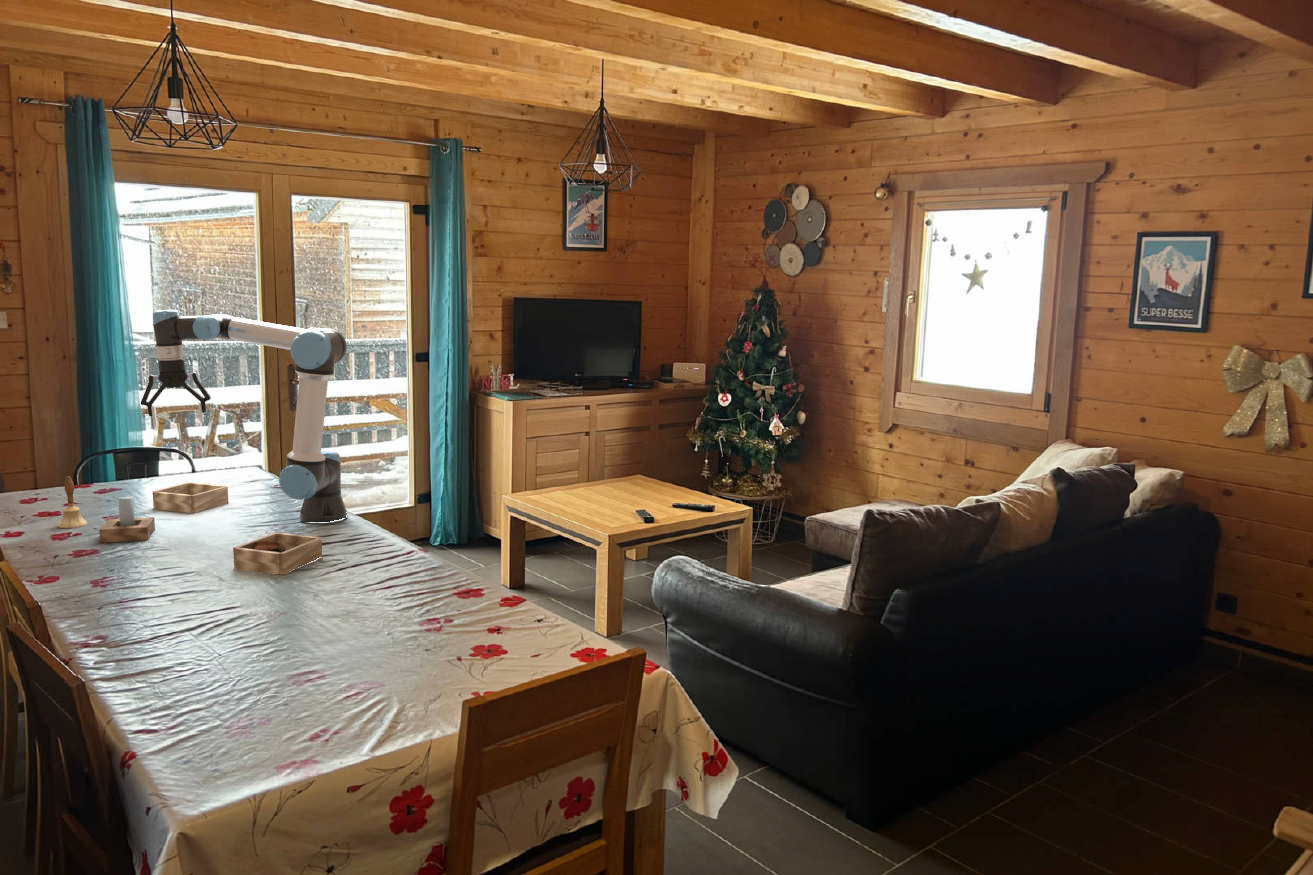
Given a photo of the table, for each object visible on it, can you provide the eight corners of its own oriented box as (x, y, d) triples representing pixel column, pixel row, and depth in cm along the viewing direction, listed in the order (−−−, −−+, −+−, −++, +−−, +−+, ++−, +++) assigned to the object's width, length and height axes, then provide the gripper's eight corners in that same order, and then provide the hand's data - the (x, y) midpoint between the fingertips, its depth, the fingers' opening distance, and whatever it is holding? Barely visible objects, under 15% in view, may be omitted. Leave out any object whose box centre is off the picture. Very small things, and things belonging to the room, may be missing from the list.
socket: (155, 529, 308) (154, 517, 307) (148, 539, 295) (147, 527, 295) (109, 531, 303) (108, 519, 303) (100, 542, 291) (99, 529, 291)
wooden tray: (229, 502, 345) (228, 486, 344) (193, 513, 329) (193, 496, 328) (189, 498, 350) (188, 482, 349) (152, 508, 334) (151, 491, 333)
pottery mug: (239, 571, 269) (242, 542, 272) (263, 577, 277) (265, 549, 280) (275, 565, 265) (277, 535, 268) (298, 571, 273) (300, 543, 276)
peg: (138, 534, 301) (136, 497, 299) (128, 538, 297) (125, 499, 295) (128, 533, 302) (125, 496, 300) (117, 536, 298) (115, 498, 296)
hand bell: (77, 528, 306) (73, 479, 304) (51, 527, 306) (47, 478, 304) (93, 522, 314) (89, 474, 312) (68, 521, 314) (64, 473, 312)
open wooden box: (323, 557, 282) (323, 537, 281) (282, 575, 264) (282, 554, 263) (275, 551, 286) (275, 532, 285) (232, 569, 269) (231, 548, 268)
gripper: (125, 362, 300) (134, 429, 304) (212, 357, 308) (220, 422, 313) (129, 360, 307) (137, 425, 311) (214, 355, 315) (222, 419, 320)
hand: (179, 424), depth 312 cm, fingers open, 13 cm apart
